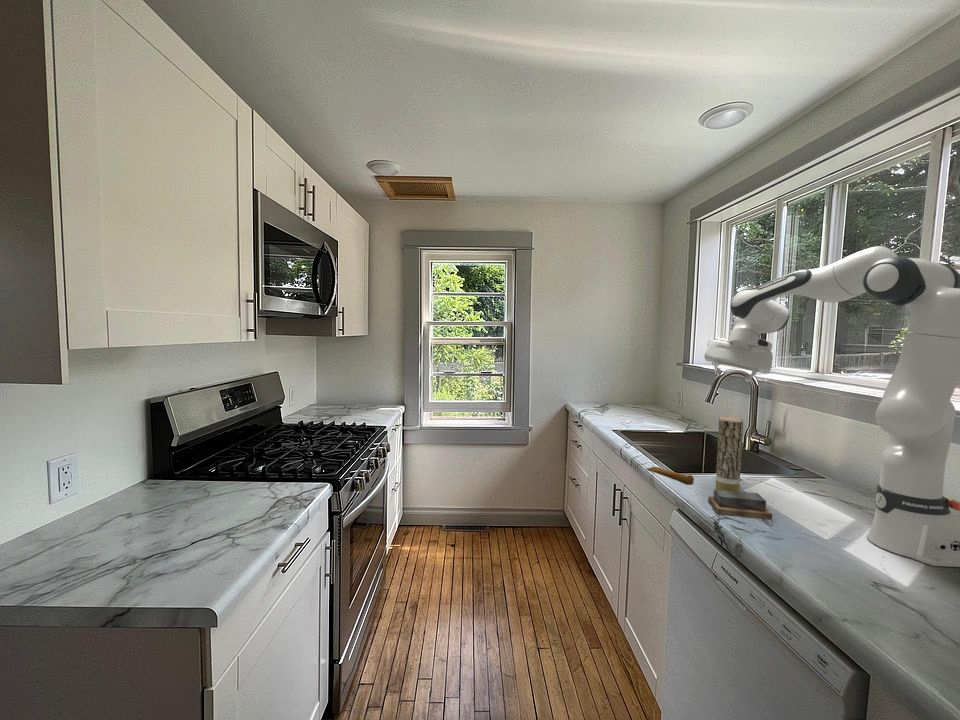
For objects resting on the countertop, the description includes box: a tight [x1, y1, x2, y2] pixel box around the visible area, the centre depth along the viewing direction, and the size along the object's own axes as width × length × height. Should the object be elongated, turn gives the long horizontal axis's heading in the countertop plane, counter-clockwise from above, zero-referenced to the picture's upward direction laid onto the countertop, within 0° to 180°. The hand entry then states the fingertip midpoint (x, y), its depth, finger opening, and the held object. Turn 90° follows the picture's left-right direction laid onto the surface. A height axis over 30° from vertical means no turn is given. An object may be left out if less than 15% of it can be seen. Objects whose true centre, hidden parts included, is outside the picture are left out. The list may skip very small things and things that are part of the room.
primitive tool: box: [645, 466, 695, 485], centre depth 159 cm, size 19×6×4 cm, turn 26°
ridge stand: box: [707, 488, 773, 520], centre depth 128 cm, size 14×10×4 cm
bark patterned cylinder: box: [715, 415, 744, 492], centre depth 141 cm, size 7×7×25 cm
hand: (731, 377), depth 147 cm, fingers open, 8 cm apart
